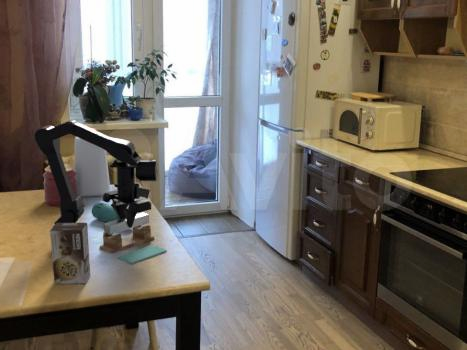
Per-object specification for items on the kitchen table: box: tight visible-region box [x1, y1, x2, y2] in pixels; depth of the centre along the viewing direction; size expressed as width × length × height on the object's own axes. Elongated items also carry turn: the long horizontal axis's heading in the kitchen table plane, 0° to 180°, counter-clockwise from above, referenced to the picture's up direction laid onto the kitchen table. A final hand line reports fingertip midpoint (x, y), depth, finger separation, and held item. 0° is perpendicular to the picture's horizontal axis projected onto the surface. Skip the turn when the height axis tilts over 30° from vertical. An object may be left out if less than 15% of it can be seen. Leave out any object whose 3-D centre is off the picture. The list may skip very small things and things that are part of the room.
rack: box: [99, 224, 155, 254], centre depth 187 cm, size 18×6×5 cm, turn 138°
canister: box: [42, 163, 78, 207], centre depth 230 cm, size 13×13×18 cm
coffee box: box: [49, 222, 91, 285], centre depth 158 cm, size 9×6×16 cm
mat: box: [117, 244, 168, 265], centre depth 179 cm, size 14×7×1 cm, turn 138°
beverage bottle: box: [91, 201, 119, 223], centre depth 207 cm, size 6×7×20 cm
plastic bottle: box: [73, 127, 111, 198], centre depth 243 cm, size 15×15×28 cm
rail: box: [103, 212, 150, 235], centre depth 186 cm, size 16×3×3 cm, turn 138°
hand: (127, 226), depth 186 cm, fingers closed on rail, 3 cm apart
